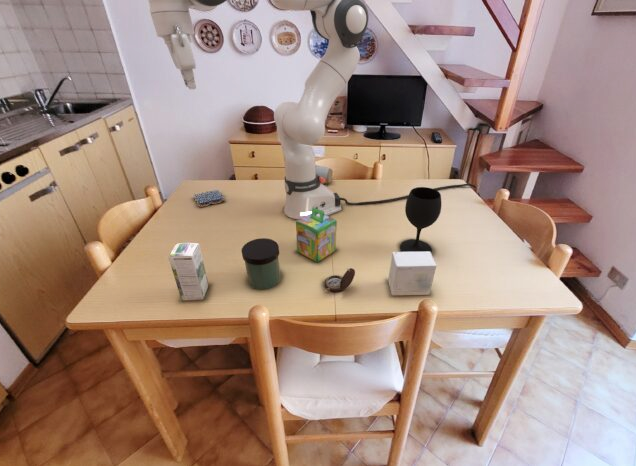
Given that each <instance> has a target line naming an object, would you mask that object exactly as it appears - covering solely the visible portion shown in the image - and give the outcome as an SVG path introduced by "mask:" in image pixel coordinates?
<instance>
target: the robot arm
mask: <svg viewBox="0 0 636 466" xmlns="http://www.w3.org/2000/svg"><path fill="white" fill-rule="evenodd" d="M147 1H148V3H149V4H148V5H149V13H150V17H151V21H152V23H153V27H154V29H155V34H156V36H157V37H158V38H162V39H163V41H164V44H165V45H166V46H167V49H168V51H169V54H170V57H171V60H172V62H173V64H174V66H175V68H176V69H177V70H179V71H180V75H181V77H182V79H183V82H184V85H185V87H186V88H188V89H189V90H196V89H197V85H196V81H195V74H194V70H195V69H196V68H197V65H196V60H195V57H194V52H193V50H192V46H191V43H192V42H193V41H192V39H191V36H193V35H195V34H196V33H195V29H194V24H193V22H192V17H191V13H190V10H189V9H191V10H196V11H201V12H210V11H212V10H214V9H216V8H217V7H218V6H220V5H222V4H223V3H225V2H227V1H228V0H147ZM270 1H271V3H272V4H273V5H274V6H275V7H276V8H278V9H280V10H286V11H291V12H293V11H294V12H299V11H300V12H301V11H302V12H303V11H304V12H305V11H309V12H310V16H311V22H312V26H313V27H312V28H313V29H314V31H315V33H316V34H317V35H318V36H319V37H321V38H322V39H325V40H327V41H328V45H327V48H326V51H325V53H324V54H323V56H321V58H320V60H319V61H318V62H317V64H316V65H315V67H314V68H313V69H312V71H311V73H310V74H309V75H308V77H307V78H306V79H305V82H304V89H303V93H302V95H301V97H300V100H299V102H298V103H297V102H295V101H285V102H281V103H280V104H278V105H277V106H276V108H275V109H274V112H273V119H274V123H275V125H276V129H277V134H278V137H279V142H280V146H281V149H282V155H283V163H284V174H285V175H284V190H285V203H284V209H283V213H284V215H285V216H286V217H289V218H290V219H294V220H299V219H301V218H303V217H305V216H307V215H309V214H310V213H311V212H312V208H313V207H314V208H316V209H319V210H322V211H324V214H325V215H327V216H330V215H332V214H335V213H338V212H340V211H342V205H341V201H344V203H345V204H346V205H348V206H362V205H371V204H380V203H389V202H395V201H398V200H403V199H404V200H405V199H407V198H408V195H409V194H407V195H403V196H399V197H394V198H388V199H380V200H370V201H361V202H349V201H348V199H347V198H344V197H340V195H339V193H338V192H333V191H332V190H331V189H330V188H329V187H327V185H324V184H326V183H325V181H326V180H325V179H324V178H323V177H320V176H319V175H317V174H316V165H317V164H316V154H315V151H314V148H313V146H315V145H316V144H319V142H321V141H322V140H323V137H324V136H325V134H326V121H327V118H328V115H329V112H330V111H331V108H332V106H333V104H334V102H335V101H336V100H337V98H338V97H339V95H340V94H341V92H342V91H343V89H344V88H345V87H346V85H347V84H348V82H349V80H350V79H351V77H352V76H353V74H354V72H355V70H356V68H357V66H358V64H359V62H360V58H361V54H360V50H359V48H358V46H359V45H360V44H361V43H362V42H363V38H364V36H365V34H366V31H367V28H368V25H369V12H368V11H369V10H368V8H367V6H366V5H365V3H364V2H363V1H362V0H270ZM320 182H321V183H320ZM462 187H472V188H473V189H476V188H477V186H476V185H475V184H473V183H462V184H452V185H446V186H440V187H439V186H438V187H435V188H433V189H435V190H437V191H438V190H445V189H450V188H462Z"/></svg>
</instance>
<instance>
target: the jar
mask: <svg viewBox="0 0 636 466" xmlns="http://www.w3.org/2000/svg"><path fill="white" fill-rule="evenodd" d="M244 265H245V271H246V275H247V281H248V284H249V286H250V287H251V288H253V289H256V290H269V289H271V288H273V287H275V286H276V285H278V284H279V282H280V281H281V268H280V259H279V256H278V257H277V258H276V259H275V260H274V261H272V262H270V263H268V264H264V265H252V264H249V263H247V262H245V261H244Z"/></svg>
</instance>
